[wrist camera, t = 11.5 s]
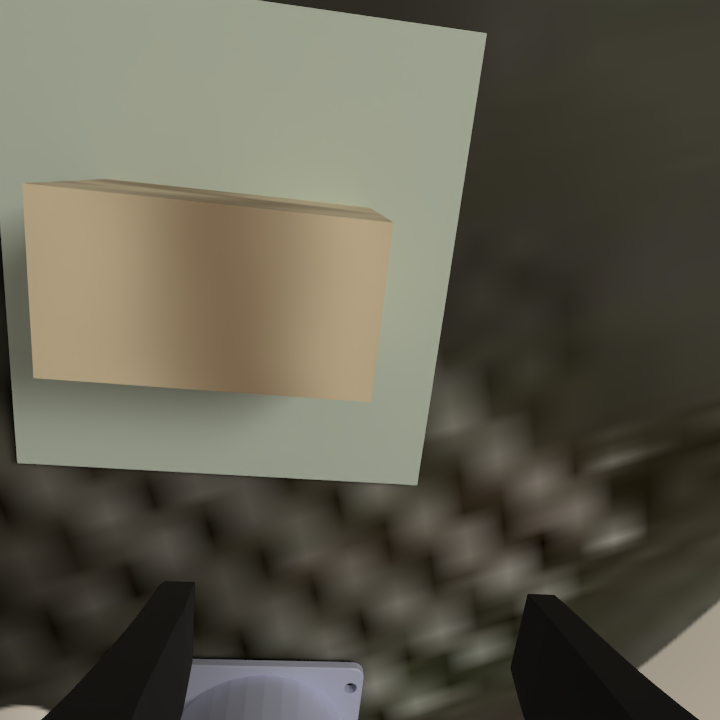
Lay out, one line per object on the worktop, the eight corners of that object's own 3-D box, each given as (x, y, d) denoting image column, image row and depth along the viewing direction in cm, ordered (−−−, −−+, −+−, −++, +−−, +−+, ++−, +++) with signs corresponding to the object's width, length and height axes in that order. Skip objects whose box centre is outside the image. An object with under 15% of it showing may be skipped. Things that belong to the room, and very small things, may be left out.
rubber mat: (414, 478, 22) (417, 485, 22) (23, 456, 21) (17, 462, 20) (482, 37, 18) (486, 33, 17) (-10, -34, 16) (-19, -40, 16)
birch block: (108, 320, 19) (33, 377, 14) (106, 178, 18) (21, 183, 13) (354, 341, 20) (371, 402, 15) (369, 207, 19) (393, 222, 13)
